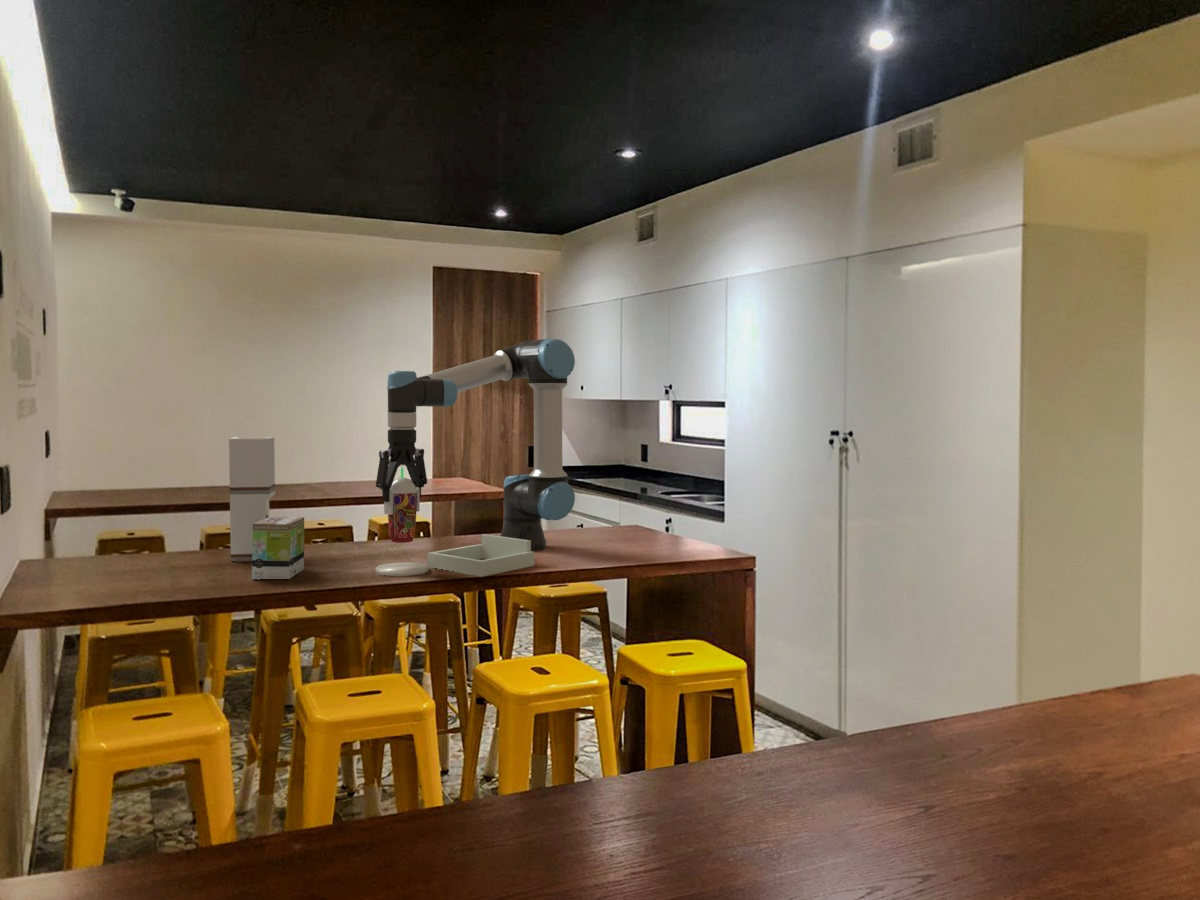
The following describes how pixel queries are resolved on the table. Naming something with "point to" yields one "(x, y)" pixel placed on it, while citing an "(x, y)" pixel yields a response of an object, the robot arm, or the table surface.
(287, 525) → the tea box
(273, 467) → the striped white pillar
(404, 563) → the saucer
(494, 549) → the shallow open tray
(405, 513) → the smoothie
